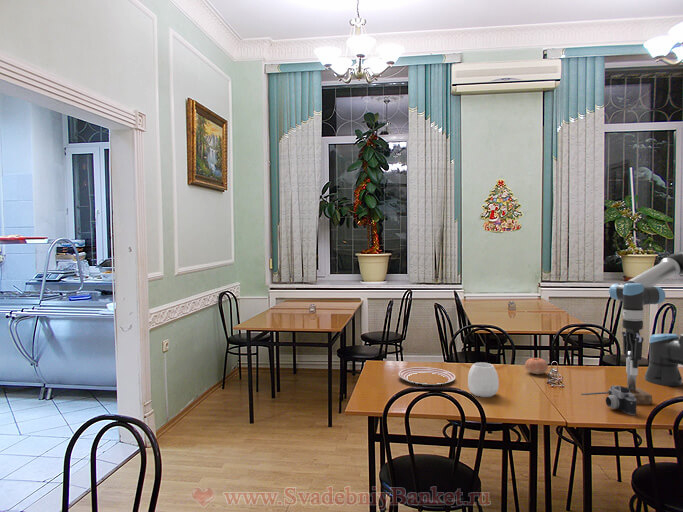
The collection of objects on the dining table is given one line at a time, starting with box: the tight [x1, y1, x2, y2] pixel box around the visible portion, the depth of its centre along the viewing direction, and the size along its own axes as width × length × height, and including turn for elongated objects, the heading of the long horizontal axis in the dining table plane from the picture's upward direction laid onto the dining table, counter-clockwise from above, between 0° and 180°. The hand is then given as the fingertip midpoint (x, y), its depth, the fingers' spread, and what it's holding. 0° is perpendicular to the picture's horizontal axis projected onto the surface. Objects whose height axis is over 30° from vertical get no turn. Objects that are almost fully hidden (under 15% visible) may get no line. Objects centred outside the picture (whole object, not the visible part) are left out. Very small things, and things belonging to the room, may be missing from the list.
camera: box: [605, 385, 637, 416], centre depth 201 cm, size 16×8×10 cm, turn 3°
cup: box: [467, 362, 500, 398], centre depth 221 cm, size 13×13×14 cm
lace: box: [580, 391, 609, 396], centre depth 221 cm, size 14×1×1 cm, turn 100°
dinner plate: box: [398, 366, 456, 386], centre depth 244 cm, size 28×27×3 cm
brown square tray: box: [626, 386, 653, 405], centre depth 213 cm, size 11×11×4 cm
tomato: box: [524, 357, 549, 375], centre depth 254 cm, size 11×11×8 cm
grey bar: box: [626, 351, 637, 390], centre depth 213 cm, size 3×3×16 cm
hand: (631, 373), depth 213 cm, fingers closed on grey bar, 3 cm apart
